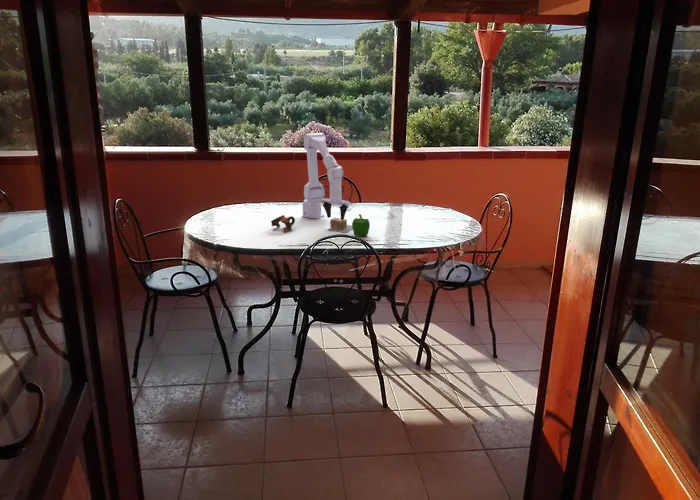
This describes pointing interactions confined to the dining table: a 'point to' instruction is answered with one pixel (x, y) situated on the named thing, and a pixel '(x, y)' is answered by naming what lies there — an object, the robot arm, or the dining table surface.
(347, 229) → the slate mat
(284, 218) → the brown irregular piece
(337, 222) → the walnut block
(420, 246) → the dining table surface
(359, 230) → the bell pepper
